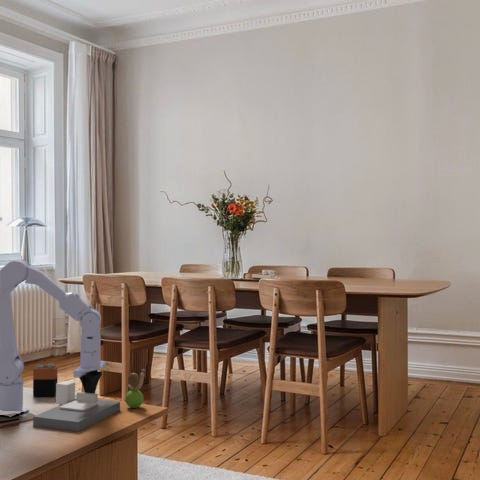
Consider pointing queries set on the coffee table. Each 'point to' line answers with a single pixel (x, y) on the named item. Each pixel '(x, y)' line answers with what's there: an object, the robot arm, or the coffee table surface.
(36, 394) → the battery
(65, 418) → the socket plate
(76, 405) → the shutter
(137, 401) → the snail figurine
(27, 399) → the coffee table surface
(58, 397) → the plug
